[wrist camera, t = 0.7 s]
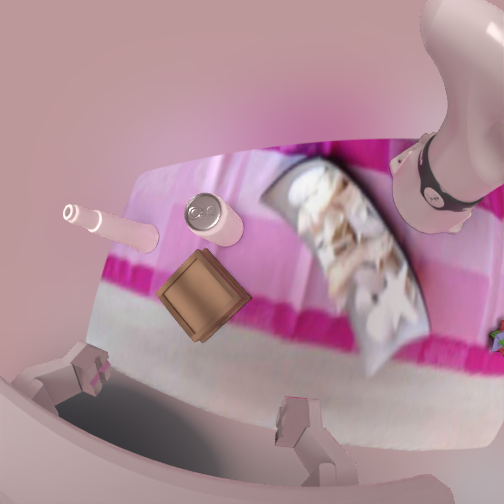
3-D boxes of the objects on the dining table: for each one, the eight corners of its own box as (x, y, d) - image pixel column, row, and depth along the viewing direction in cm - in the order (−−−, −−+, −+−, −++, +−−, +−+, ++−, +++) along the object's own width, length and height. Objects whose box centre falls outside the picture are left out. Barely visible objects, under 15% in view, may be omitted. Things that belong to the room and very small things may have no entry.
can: (209, 214, 51) (181, 193, 39) (243, 210, 50) (223, 186, 38) (210, 248, 50) (181, 236, 38) (245, 245, 49) (225, 231, 37)
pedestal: (207, 248, 50) (197, 244, 45) (251, 297, 47) (245, 298, 43) (164, 293, 51) (151, 293, 46) (204, 341, 48) (194, 346, 43)
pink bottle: (163, 245, 52) (84, 219, 31) (139, 258, 53) (58, 240, 31) (153, 218, 53) (78, 183, 32) (131, 232, 54) (53, 205, 33)
